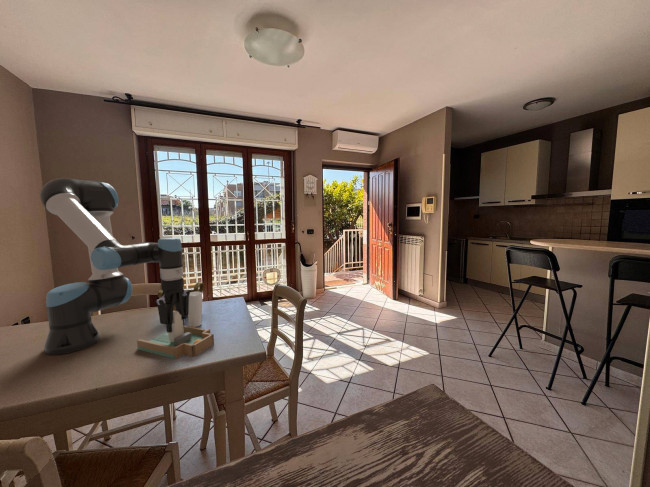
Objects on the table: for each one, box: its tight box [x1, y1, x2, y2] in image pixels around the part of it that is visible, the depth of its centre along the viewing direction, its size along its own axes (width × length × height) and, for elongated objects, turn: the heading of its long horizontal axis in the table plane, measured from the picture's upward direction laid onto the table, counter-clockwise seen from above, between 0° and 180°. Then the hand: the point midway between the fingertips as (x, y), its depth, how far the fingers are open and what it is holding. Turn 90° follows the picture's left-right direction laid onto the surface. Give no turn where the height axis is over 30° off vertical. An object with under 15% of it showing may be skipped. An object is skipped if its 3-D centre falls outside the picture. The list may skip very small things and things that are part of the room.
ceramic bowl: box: [157, 281, 206, 311], centre depth 130 cm, size 22×17×15 cm
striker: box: [170, 311, 192, 345], centre depth 100 cm, size 6×6×12 cm
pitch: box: [136, 325, 215, 360], centre depth 100 cm, size 24×16×4 cm, turn 70°
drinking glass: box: [187, 292, 203, 328], centre depth 118 cm, size 7×7×15 cm
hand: (176, 337), depth 101 cm, fingers closed on striker, 3 cm apart
